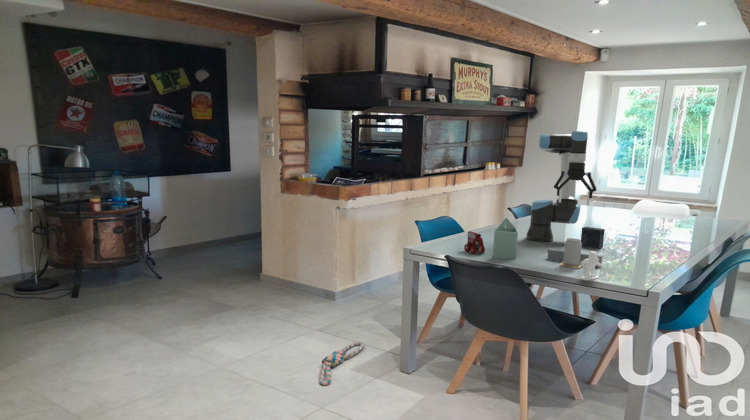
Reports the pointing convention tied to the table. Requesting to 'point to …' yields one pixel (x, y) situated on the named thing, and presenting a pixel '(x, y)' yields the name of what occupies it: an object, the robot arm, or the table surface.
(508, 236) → the planter
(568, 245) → the can
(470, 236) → the toy fire truck
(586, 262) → the figurine
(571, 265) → the coaster
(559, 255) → the wall
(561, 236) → the table surface
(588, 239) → the box
